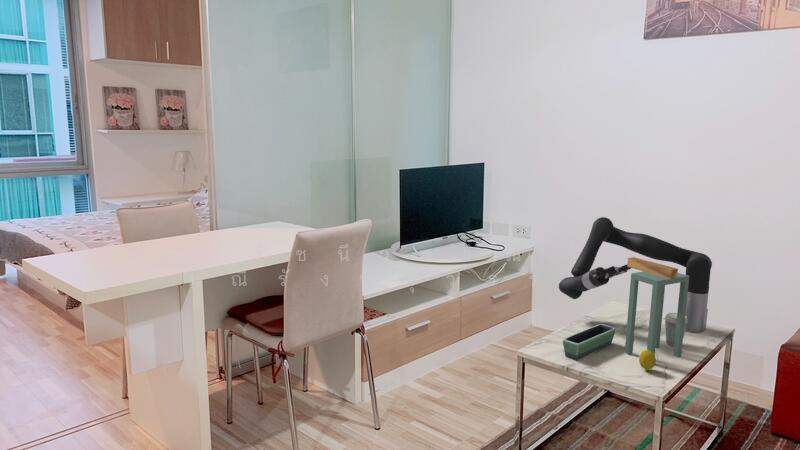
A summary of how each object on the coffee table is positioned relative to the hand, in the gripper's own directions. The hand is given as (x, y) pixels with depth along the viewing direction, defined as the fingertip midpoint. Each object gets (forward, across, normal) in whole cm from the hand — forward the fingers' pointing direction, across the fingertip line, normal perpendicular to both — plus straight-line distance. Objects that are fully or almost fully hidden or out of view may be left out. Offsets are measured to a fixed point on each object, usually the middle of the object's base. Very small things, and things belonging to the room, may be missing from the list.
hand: (622, 267), depth 236 cm
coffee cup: (-4, +17, +34) cm, 38 cm away
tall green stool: (0, 0, +36) cm, 36 cm away
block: (+13, 0, +6) cm, 14 cm away
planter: (-12, -19, +29) cm, 37 cm away
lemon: (+8, -14, +40) cm, 43 cm away
